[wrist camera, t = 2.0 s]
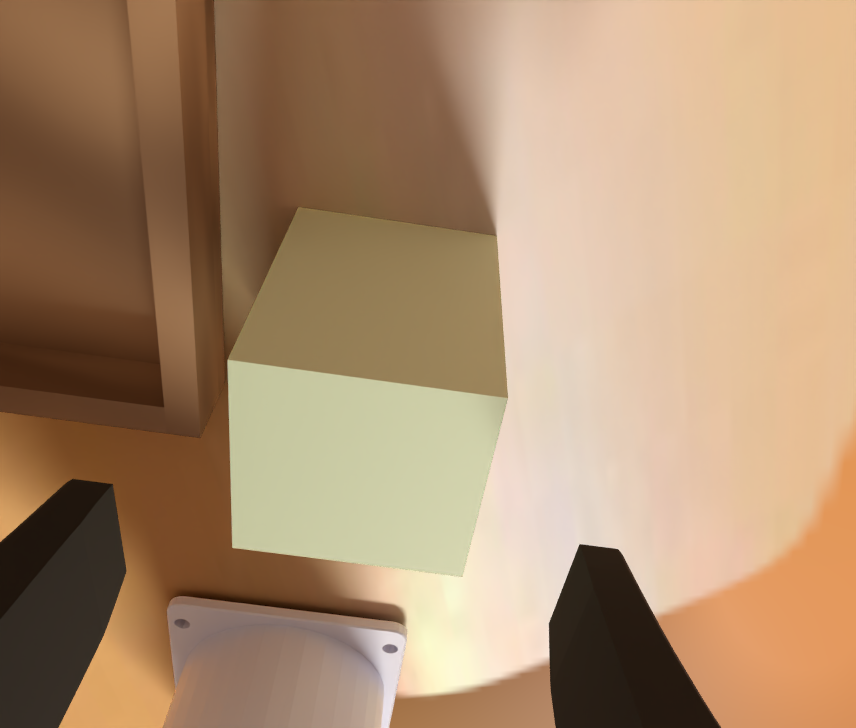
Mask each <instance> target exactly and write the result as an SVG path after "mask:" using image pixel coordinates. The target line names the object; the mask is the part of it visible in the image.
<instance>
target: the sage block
mask: <svg viewBox="0 0 856 728" xmlns="http://www.w3.org/2000/svg"><path fill="white" fill-rule="evenodd" d="M227 361H228V400H229V439H230V478H231V517H232V548H238V549H246V550H254V551H262V552H270V553H278V554H286V555H293V556H301V557H309V558H317V559H325V560H333V561H341V562H349V563H357V564H364V565H372V566H380V567H388V568H396V569H404V570H412V571H420V572H427V573H435V574H443V575H451V576H459V577H462V576H463V572H464V568H465V564H466V560H467V556H468V552H469V549H470V545H471V541H472V537H473V533H474V529H475V525H476V521H477V517H478V513H479V509H480V505H481V502H482V498H483V494H484V490H485V486H486V482H487V478H488V474H489V470H490V466H491V462H492V458H493V455H494V451H495V447H496V443H497V439H498V435H499V431H500V427H501V423H502V419H503V415H504V411H505V408H506V404H507V400H508V393H507V378H506V364H505V349H504V334H503V320H502V305H501V291H500V276H499V261H498V247H497V236H495V235H488V234H481V233H474V232H468V231H461V230H454V229H447V228H440V227H433V226H426V225H420V224H413V223H406V222H399V221H392V220H385V219H379V218H372V217H365V216H358V215H351V214H344V213H337V212H331V211H324V210H317V209H310V208H303V207H298V209H297V211H296V213H295V215H294V218H293V220H292V222H291V224H290V226H289V228H288V231H287V233H286V235H285V237H284V239H283V241H282V243H281V246H280V248H279V250H278V252H277V254H276V256H275V259H274V261H273V263H272V265H271V267H270V269H269V271H268V274H267V276H266V278H265V280H264V282H263V284H262V286H261V289H260V291H259V293H258V295H257V297H256V299H255V302H254V304H253V306H252V308H251V310H250V312H249V314H248V317H247V319H246V321H245V323H244V325H243V327H242V330H241V332H240V334H239V336H238V338H237V340H236V342H235V345H234V347H233V349H232V351H231V353H230V355H229V358H228V360H227Z"/></svg>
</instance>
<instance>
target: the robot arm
mask: <svg viewBox="0 0 856 728" xmlns="http://www.w3.org/2000/svg"><path fill="white" fill-rule="evenodd" d="M125 574H126V565H125V559H124V552H123V546H122V540H121V534H120V527H119V521H118V515H117V508H116V502H115V496H114V490H113V484H107V483H99V482H91V481H84V480H76V479H72V480H70V481H69V482H67V483H66V484H65V485H63V486H62V487H61V488H60V489H59V490H58V491H57V492H56V493H55V494H53V495H52V496H51V497H50V498H49V499H48V500H47V501H46V502H45V503H44V504H42V505H41V506H40V507H39V508H38V509H37V510H36V511H35V512H34V513H33V514H31V515H30V516H29V517H28V518H27V519H26V520H25V521H24V522H23V523H21V524H20V525H19V526H18V527H17V528H16V529H15V530H14V531H13V532H11V533H10V534H9V535H8V536H7V537H6V538H5V539H3V540H2V541H1V542H0V728H58V727H59V725H60V723H61V721H62V719H63V717H64V715H65V713H66V711H67V709H68V707H69V705H70V703H71V701H72V699H73V697H74V695H75V693H76V691H77V689H78V687H79V685H80V683H81V681H82V679H83V677H84V675H85V673H86V671H87V669H88V667H89V665H90V663H91V661H92V658H93V656H94V654H95V652H96V650H97V648H98V646H99V644H100V642H101V640H102V638H103V636H104V633H105V630H106V628H107V625H108V622H109V620H110V617H111V614H112V611H113V609H114V606H115V603H116V600H117V597H118V594H119V591H120V589H121V586H122V583H123V580H124V577H125ZM167 619H168V628H169V637H170V646H171V655H172V664H173V672H174V681H175V693H174V696H173V699H172V702H171V705H170V708H169V711H168V714H167V717H166V720H165V722H164V725H163V728H389V724H390V720H391V715H392V710H393V705H394V700H395V695H396V691H397V686H398V681H399V676H400V671H401V666H402V661H403V656H404V651H405V646H406V641H407V629H406V628H405V627H404V626H403V625H402V624H400V623H397V622H392V621H384V620H376V619H368V618H359V617H351V616H343V615H335V614H327V613H319V612H310V611H302V610H294V609H286V608H278V607H269V606H261V605H253V604H245V603H237V602H229V601H220V600H212V599H204V598H196V597H188V596H178V597H174V598H173V599H171V600H170V603H169V605H168V608H167ZM549 649H550V682H551V683H550V684H551V695H552V703H553V710H554V718H555V725H556V728H721V727H720V725H719V724H718V722H717V721H716V719H715V718H714V716H713V714H712V713H711V711H710V710H709V708H708V707H707V705H706V703H705V702H704V700H703V698H702V697H701V695H700V694H699V692H698V690H697V689H696V687H695V685H694V684H693V682H692V680H691V679H690V677H689V675H688V674H687V672H686V670H685V669H684V667H683V665H682V664H681V662H680V660H679V659H678V657H677V655H676V654H675V652H674V650H673V648H672V647H671V645H670V643H669V641H668V640H667V638H666V636H665V634H664V632H663V631H662V629H661V627H660V625H659V623H658V621H657V620H656V618H655V616H654V614H653V612H652V610H651V609H650V607H649V605H648V603H647V601H646V599H645V597H644V596H643V594H642V592H641V590H640V588H639V586H638V584H637V582H636V580H635V578H634V576H633V574H632V572H631V570H630V569H629V567H628V565H627V563H626V561H625V559H624V557H623V555H622V554H621V552H620V551H619V550H618V549H612V548H605V547H597V546H589V545H581V544H580V545H579V547H578V550H577V552H576V555H575V558H574V560H573V563H572V565H571V568H570V571H569V573H568V576H567V578H566V581H565V583H564V586H563V589H562V591H561V594H560V596H559V599H558V602H557V604H556V607H555V609H554V612H553V615H552V617H551V620H550V622H549Z"/></svg>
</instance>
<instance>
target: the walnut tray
mask: <svg viewBox="0 0 856 728" xmlns="http://www.w3.org/2000/svg"><path fill="white" fill-rule="evenodd" d="M224 384H225V366H224V332H223V298H222V264H221V230H220V196H219V162H218V129H217V95H216V61H215V27H214V0H0V412H7V413H14V414H22V415H30V416H37V417H45V418H52V419H60V420H68V421H75V422H83V423H90V424H98V425H106V426H113V427H121V428H128V429H136V430H144V431H151V432H159V433H166V434H174V435H182V436H189V437H197V438H201V435H202V433H203V431H204V429H205V426H206V424H207V422H208V420H209V417H210V415H211V413H212V411H213V409H214V406H215V404H216V402H217V400H218V397H219V395H220V393H221V391H222V388H223V386H224Z"/></svg>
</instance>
